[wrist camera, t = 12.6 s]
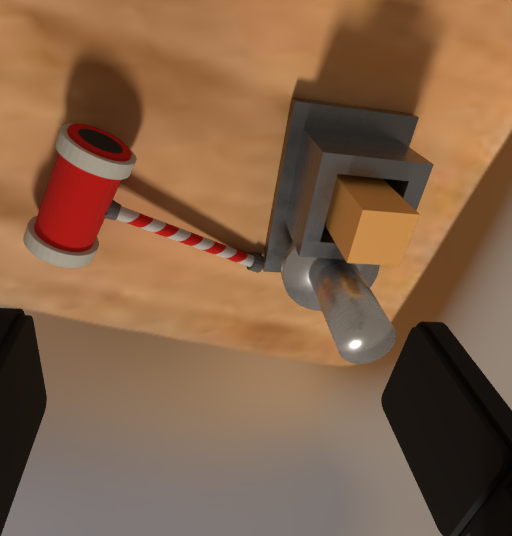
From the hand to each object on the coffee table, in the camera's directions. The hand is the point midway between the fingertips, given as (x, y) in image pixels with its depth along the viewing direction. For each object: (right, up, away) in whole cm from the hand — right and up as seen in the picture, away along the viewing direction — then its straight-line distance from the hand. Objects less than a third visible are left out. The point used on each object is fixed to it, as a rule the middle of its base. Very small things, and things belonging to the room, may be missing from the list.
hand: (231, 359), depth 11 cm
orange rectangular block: (+9, +11, +31) cm, 34 cm away
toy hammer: (-11, +9, +32) cm, 35 cm away
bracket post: (+8, +9, +34) cm, 36 cm away
